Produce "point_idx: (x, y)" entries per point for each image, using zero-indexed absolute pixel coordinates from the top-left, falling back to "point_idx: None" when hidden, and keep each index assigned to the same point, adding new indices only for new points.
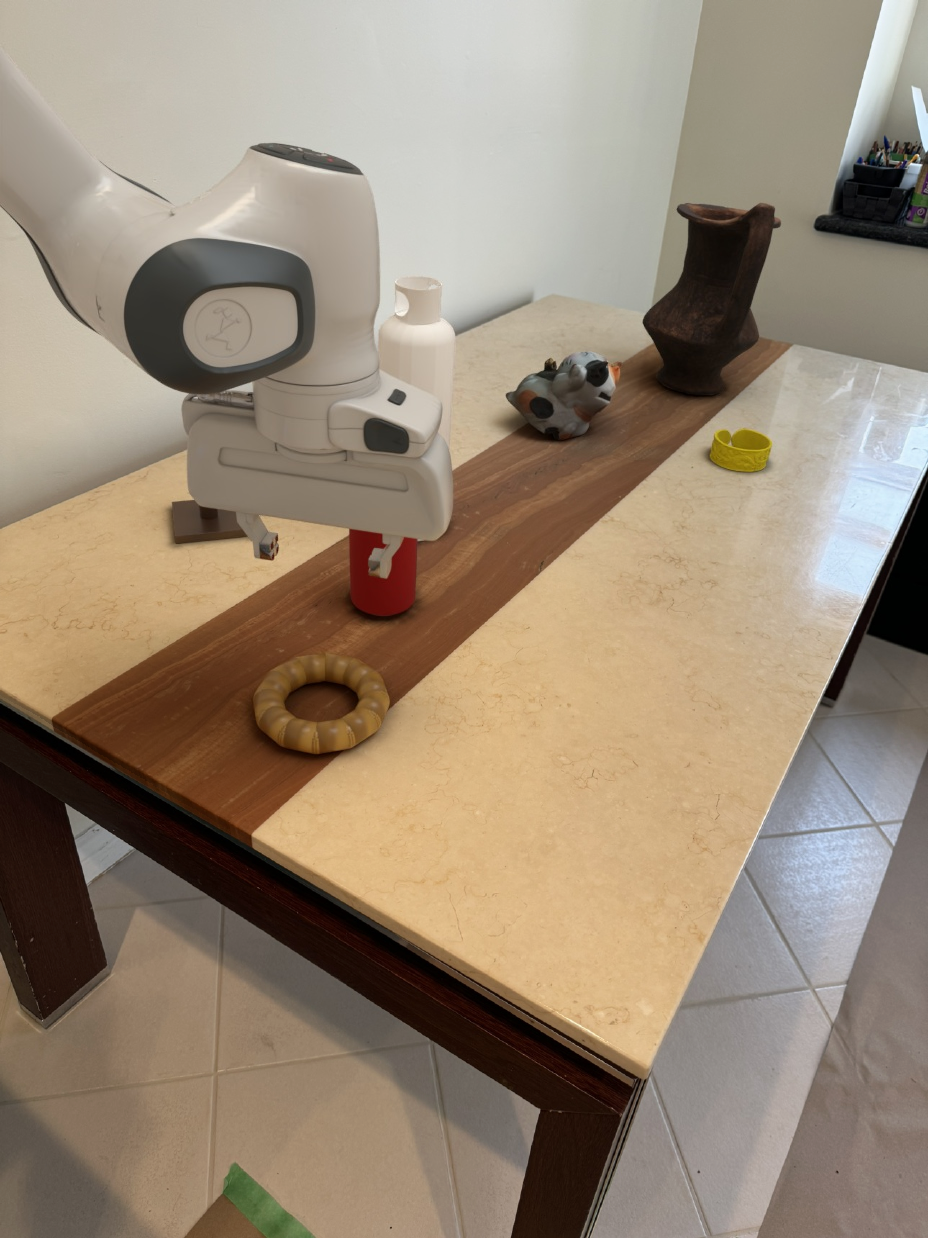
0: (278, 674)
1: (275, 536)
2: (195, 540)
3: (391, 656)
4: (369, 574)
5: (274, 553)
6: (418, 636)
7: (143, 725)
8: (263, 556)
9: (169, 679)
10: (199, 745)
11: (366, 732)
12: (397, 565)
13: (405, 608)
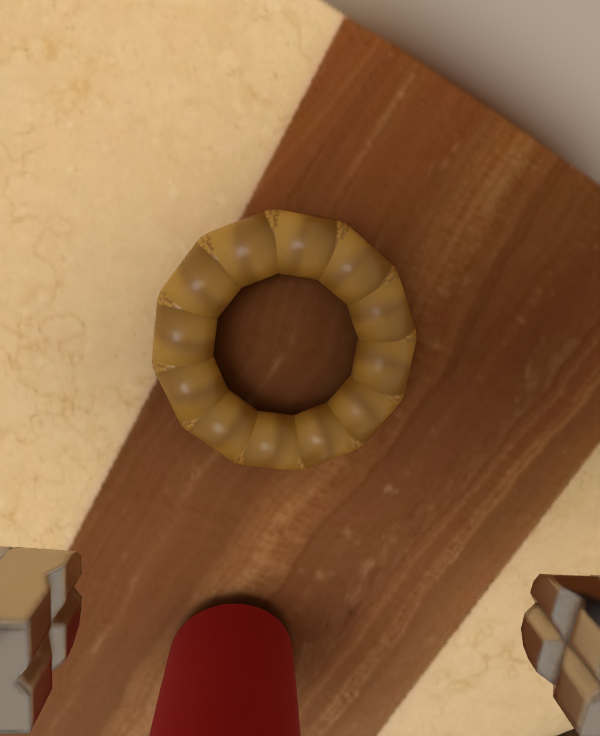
0: (381, 386)
1: (589, 709)
2: None
3: (188, 506)
4: (68, 553)
5: (540, 618)
6: (148, 567)
7: (584, 266)
8: (589, 583)
9: (563, 386)
10: (482, 228)
11: (179, 265)
12: (176, 725)
13: (180, 629)
